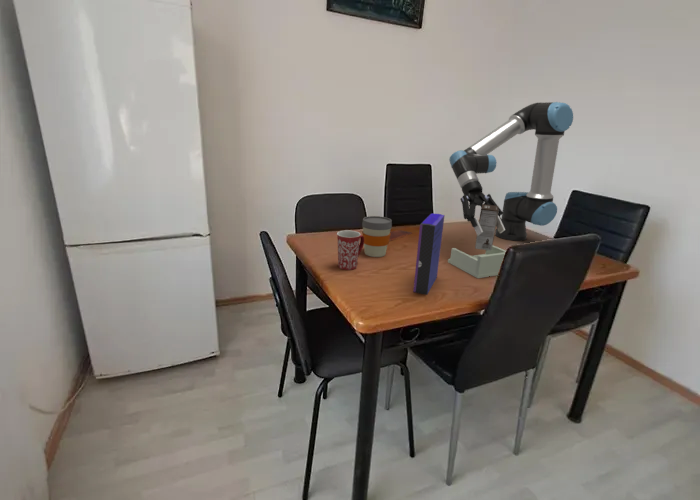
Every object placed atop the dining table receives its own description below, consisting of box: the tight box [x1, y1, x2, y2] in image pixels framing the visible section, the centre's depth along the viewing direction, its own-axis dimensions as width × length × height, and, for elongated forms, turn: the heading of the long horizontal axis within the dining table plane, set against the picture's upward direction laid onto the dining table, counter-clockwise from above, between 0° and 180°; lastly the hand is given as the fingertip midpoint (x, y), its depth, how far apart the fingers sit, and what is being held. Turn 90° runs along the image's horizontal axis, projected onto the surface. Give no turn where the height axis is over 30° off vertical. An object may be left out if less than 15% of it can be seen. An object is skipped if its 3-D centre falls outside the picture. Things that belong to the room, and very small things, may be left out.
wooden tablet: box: [389, 229, 413, 242], centre depth 197 cm, size 27×10×2 cm, turn 135°
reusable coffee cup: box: [361, 215, 393, 258], centre depth 168 cm, size 13×13×15 cm
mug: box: [336, 229, 364, 271], centre depth 154 cm, size 13×9×14 cm
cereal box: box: [412, 213, 445, 296], centre depth 138 cm, size 17×5×24 cm, turn 157°
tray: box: [447, 244, 507, 279], centre depth 159 cm, size 20×18×8 cm
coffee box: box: [474, 203, 500, 251], centre depth 155 cm, size 9×6×16 cm
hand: (491, 232), depth 153 cm, fingers closed on coffee box, 10 cm apart
